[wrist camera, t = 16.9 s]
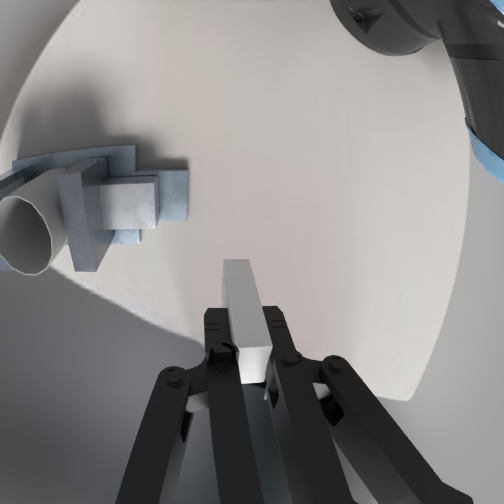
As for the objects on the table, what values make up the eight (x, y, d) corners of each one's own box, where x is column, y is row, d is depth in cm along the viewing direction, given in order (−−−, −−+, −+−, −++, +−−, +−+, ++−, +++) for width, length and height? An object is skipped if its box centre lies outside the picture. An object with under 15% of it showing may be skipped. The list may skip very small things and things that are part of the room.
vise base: (16, 159, 23) (-26, 180, 16) (189, 142, 28) (183, 156, 20) (30, 241, 29) (-1, 277, 21) (187, 238, 34) (185, 281, 26)
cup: (36, 164, 24) (-11, 190, 15) (91, 172, 26) (51, 201, 18) (36, 226, 27) (-3, 266, 19) (86, 237, 30) (55, 283, 21)
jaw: (84, 158, 25) (54, 175, 19) (158, 153, 27) (144, 168, 20) (93, 238, 30) (72, 271, 23) (160, 237, 32) (151, 272, 25)
